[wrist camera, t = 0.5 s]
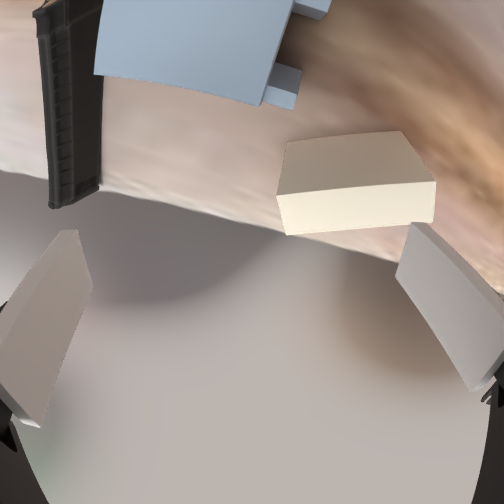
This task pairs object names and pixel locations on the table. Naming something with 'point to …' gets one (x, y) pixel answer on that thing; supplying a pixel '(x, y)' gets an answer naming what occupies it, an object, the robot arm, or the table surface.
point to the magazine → (70, 96)
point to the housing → (204, 45)
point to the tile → (353, 183)
